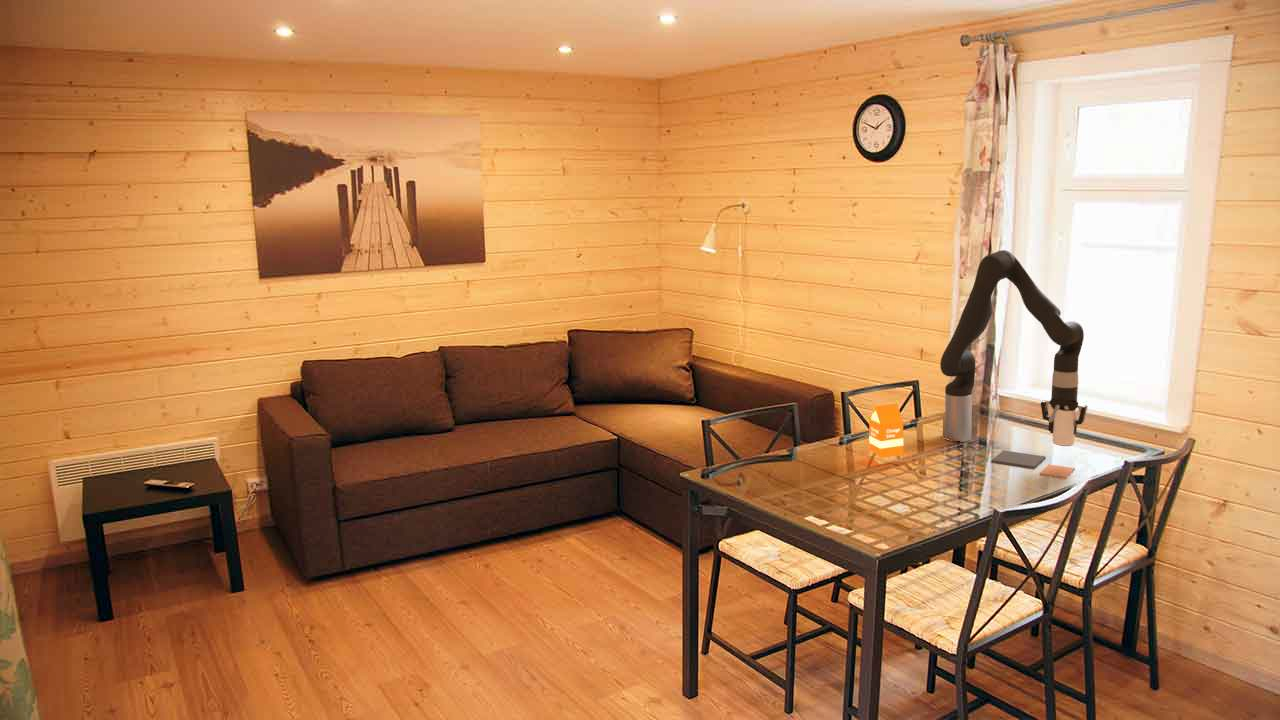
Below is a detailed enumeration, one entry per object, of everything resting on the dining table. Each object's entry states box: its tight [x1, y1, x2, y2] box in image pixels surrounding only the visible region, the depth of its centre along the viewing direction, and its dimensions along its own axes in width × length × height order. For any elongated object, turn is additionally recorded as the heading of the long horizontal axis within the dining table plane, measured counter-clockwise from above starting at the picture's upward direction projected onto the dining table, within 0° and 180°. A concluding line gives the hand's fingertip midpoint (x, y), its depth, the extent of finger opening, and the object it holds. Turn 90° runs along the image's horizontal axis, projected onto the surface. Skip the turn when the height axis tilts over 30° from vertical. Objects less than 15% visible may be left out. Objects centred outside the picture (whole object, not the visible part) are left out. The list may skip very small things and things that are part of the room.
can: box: [1052, 409, 1077, 447], centre depth 293 cm, size 6×6×12 cm
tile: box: [1039, 464, 1076, 480], centre depth 292 cm, size 8×1×10 cm
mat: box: [991, 450, 1047, 470], centre depth 306 cm, size 14×12×1 cm
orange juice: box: [868, 403, 904, 458], centre depth 312 cm, size 8×9×20 cm
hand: (1062, 433), depth 294 cm, fingers closed on can, 5 cm apart
